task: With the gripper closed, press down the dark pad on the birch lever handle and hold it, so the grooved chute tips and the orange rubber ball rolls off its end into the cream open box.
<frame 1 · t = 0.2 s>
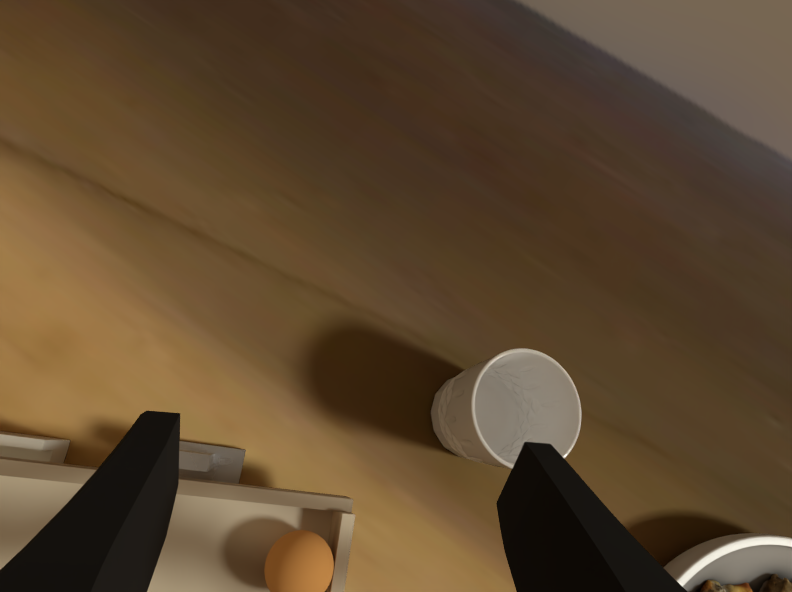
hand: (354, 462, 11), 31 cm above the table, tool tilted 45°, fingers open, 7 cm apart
white cup: (468, 415, 45), on the table
lever stand: (182, 534, 37), on the table
ball: (299, 567, 32), point 7 cm above the table, tilted 12°, touching lever
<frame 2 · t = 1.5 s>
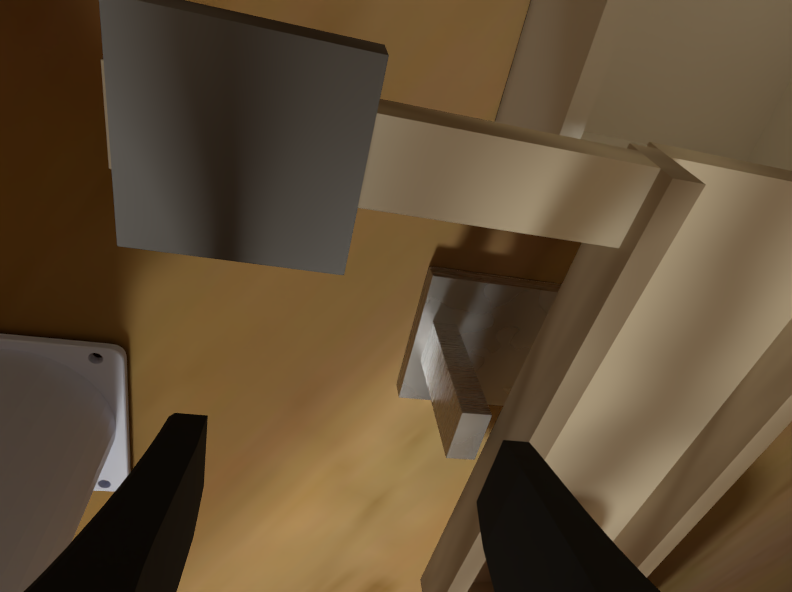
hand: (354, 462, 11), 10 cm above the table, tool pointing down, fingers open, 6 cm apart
lever stand: (543, 343, 24), on the table
lever: (463, 441, 17), point 7 cm above the table, hinge at 5.0°, touching ball
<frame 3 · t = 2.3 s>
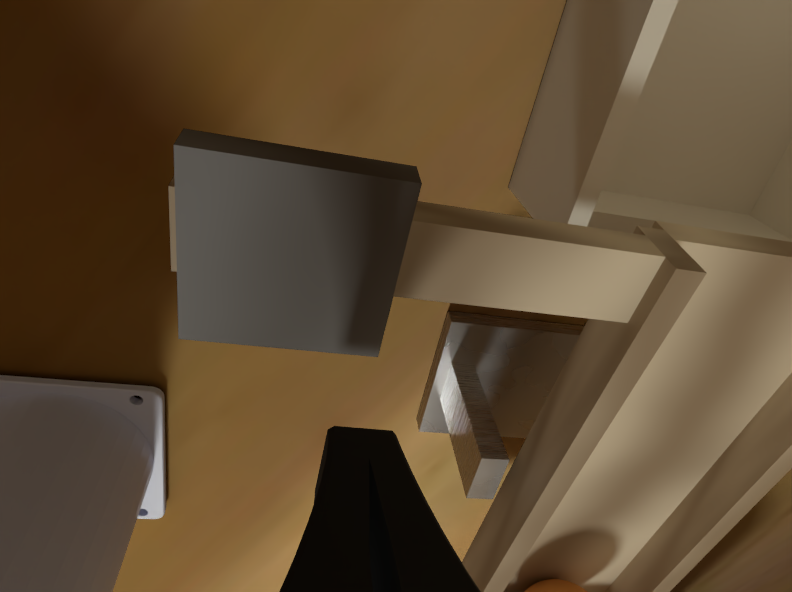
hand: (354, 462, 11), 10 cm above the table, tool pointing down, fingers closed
lever stand: (556, 379, 25), on the table
lever: (483, 485, 18), point 7 cm above the table, hinge at 5.0°, touching ball
cream open box: (701, 50, 18), on the table
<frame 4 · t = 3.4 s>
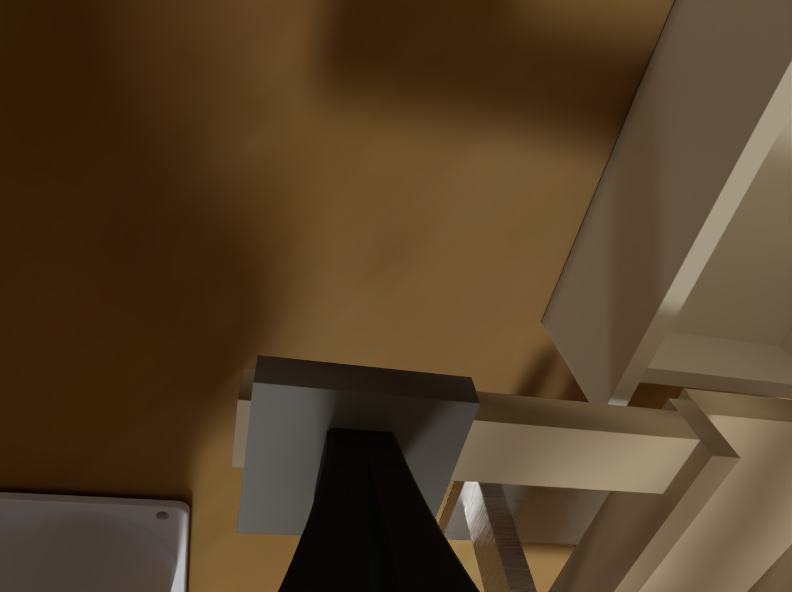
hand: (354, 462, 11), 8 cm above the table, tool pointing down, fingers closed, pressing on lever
lever stand: (580, 487, 25), on the table
cream open box: (739, 201, 18), on the table
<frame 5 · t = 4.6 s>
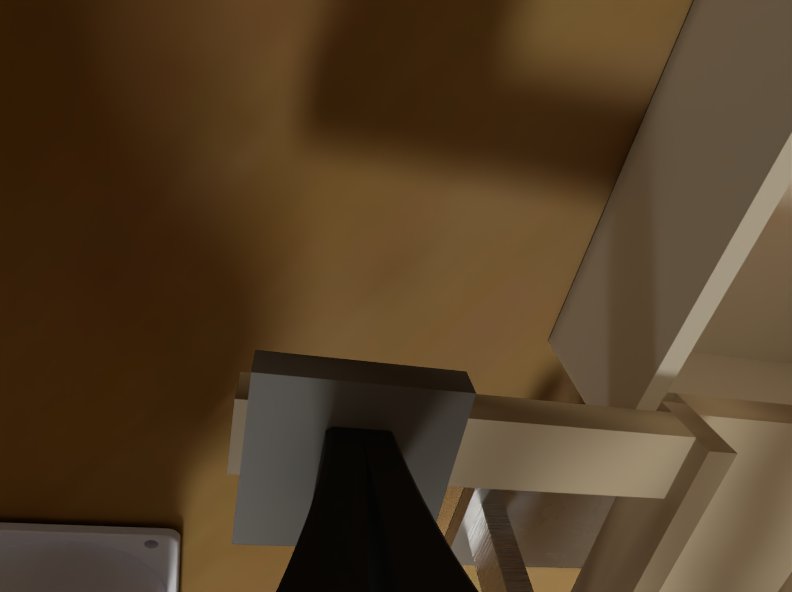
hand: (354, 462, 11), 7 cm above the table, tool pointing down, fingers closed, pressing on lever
lever stand: (586, 509, 24), on the table
cream open box: (755, 216, 17), on the table
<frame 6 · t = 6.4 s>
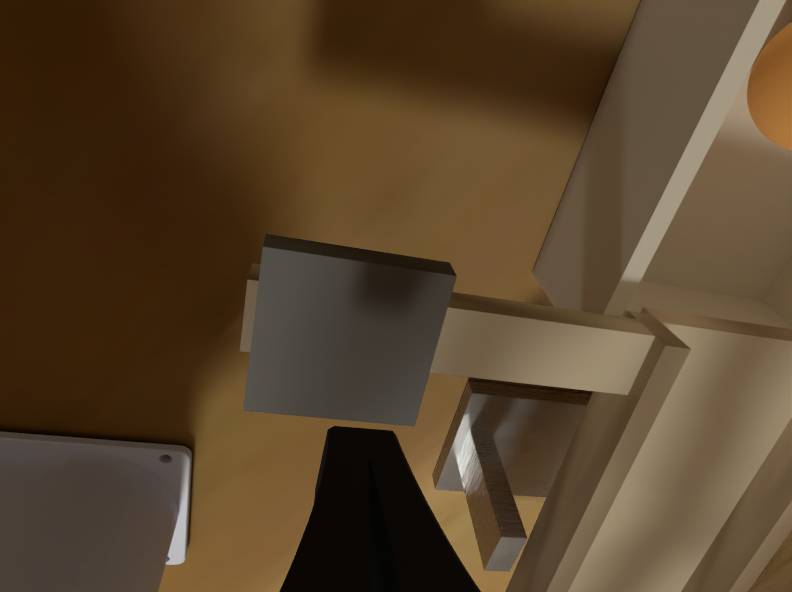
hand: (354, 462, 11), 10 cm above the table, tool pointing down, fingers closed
lever stand: (569, 442, 26), on the table
lever: (503, 559, 19), point 7 cm above the table, hinge at -5.8°, touching cream open box
cream open box: (723, 154, 19), on the table
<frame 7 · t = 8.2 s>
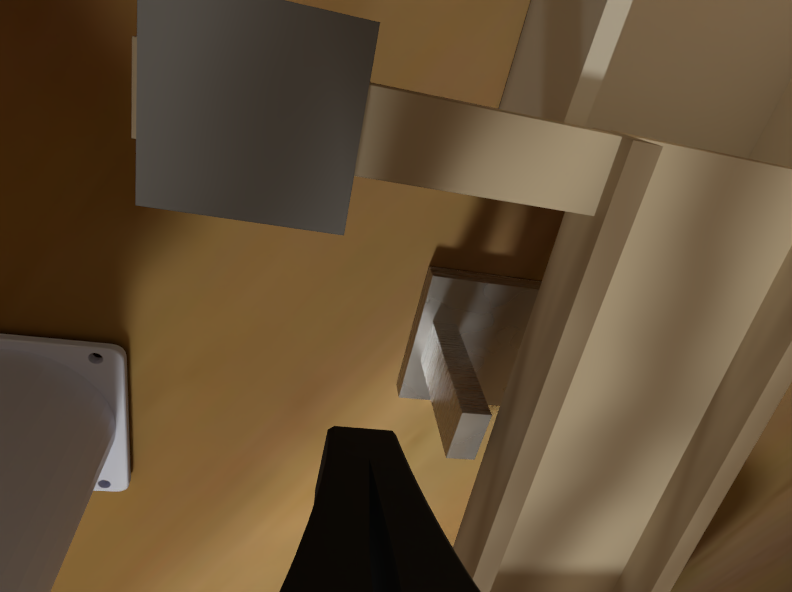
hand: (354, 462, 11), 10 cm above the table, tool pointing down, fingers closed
lever stand: (543, 343, 24), on the table
lever: (464, 435, 17), point 7 cm above the table, hinge at -5.8°, touching cream open box
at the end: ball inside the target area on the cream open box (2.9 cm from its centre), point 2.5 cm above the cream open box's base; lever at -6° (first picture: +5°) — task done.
